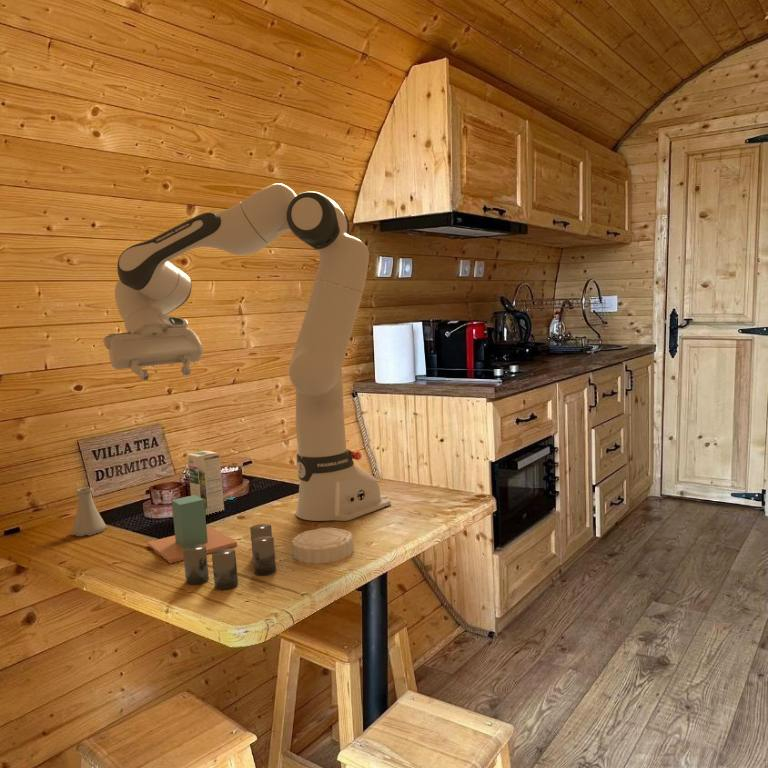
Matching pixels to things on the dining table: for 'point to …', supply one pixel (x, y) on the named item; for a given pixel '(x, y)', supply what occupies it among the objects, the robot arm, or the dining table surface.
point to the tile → (175, 551)
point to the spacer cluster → (230, 560)
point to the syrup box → (206, 479)
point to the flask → (87, 515)
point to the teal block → (189, 521)
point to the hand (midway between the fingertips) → (166, 375)
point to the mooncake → (322, 545)
